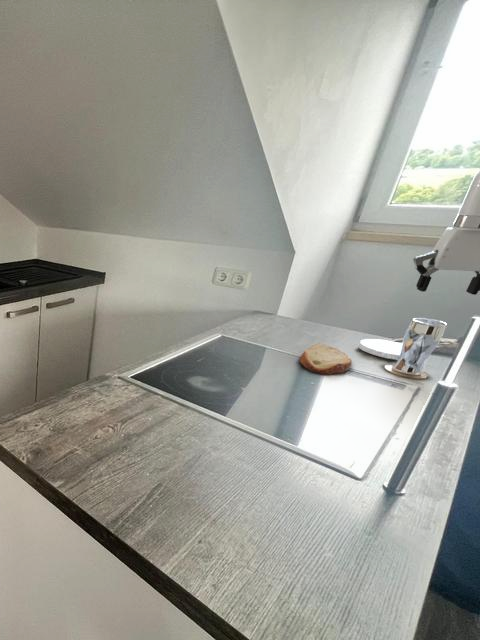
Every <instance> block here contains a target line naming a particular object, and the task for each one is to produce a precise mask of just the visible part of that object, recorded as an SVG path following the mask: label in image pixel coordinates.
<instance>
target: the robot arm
mask: <svg viewBox="0 0 480 640" xmlns="http://www.w3.org/2000/svg"><path fill="white" fill-rule="evenodd" d="M452 224H453V225H452V226H451V227H447V228H446V229H445V231H443V233H442V235H441V236H440V237H439V239H438V241H437V242H436V244H435V246H434V247H433V249H432V251H431V252H428V253H424V254H421V255H418V256H415V257H414V258H413V264H414V269H415V270H416V271H417V272H418V274H419V275H420V276H419V278H418V280H417V283H416V290H418V291H420V292H427V290H428V287H429V284H430V283H431V280H432V276H431V275H433V274H435V273H436V272H437V271H439V270H443V271H459V272H460V271H461V272H473V273H475V275H476V276H473V277H472V278H471V280H470V282H469V284H468V285H467V288H466V291H465V292H467V293H468V294H470V295H473V296H475V295H477V294H478V292H480V169H479V170H478V171H477V172H476V173H475V174H474V176H473V178H472V181H471V182H470V185H469V188H468V190H467V192H466V194H465V197H464V199H463V202H462V204H461V206H460V208H459V210H458V213H457V215H456V218H455V220H454V222H453V223H452ZM425 261H427V263H426V264H427V266H424V262H425Z"/></svg>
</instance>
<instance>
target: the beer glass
mask: <svg viewBox="0 0 480 640" xmlns="http://www.w3.org/2000/svg"><path fill="white" fill-rule="evenodd" d="M411 320H412V321H411V322H410V323H409V325H408V327H407V328H406V330H405V333H404V335H403V338H402V340H401V341H402V342H401V343H402V346H401V352H400V355H399V358H398V360H395V362H394V363H393V364H394V365H393V366H392V369H393V370H395V371H397V372H400V373H403V374H407V375H421V373H422V371H423V367H424V364H425V363H426V361H427V359H428V358H429V357H430V356H431V354H432V353H433V352H434V350H436V348H437V346H438V345H439V344H440V342H441V340H442V338H443V336H444V334H445V331H446V328H447V325H448V324H447V323H446V322H445V321H442V320H438V319H433V318H426V317H413V318H412V319H411Z"/></svg>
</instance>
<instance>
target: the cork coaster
mask: <svg viewBox="0 0 480 640" xmlns="http://www.w3.org/2000/svg"><path fill="white" fill-rule="evenodd" d="M394 364H395V363H392V364H391V363H390V364H385V365H384V367H383V369H384V370H385V371H387V372H388V373H390V374H392V375H395V376H398V377H402V378H407V379H412V380H425V379H427V378H428V377H429V376H428V374H427V372H424V371H423V370H422V373H421V375H407V374H403V373H400V372H397V371H395V370H393V369H392V366H393V365H394Z"/></svg>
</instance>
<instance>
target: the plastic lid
mask: <svg viewBox="0 0 480 640" xmlns="http://www.w3.org/2000/svg"><path fill="white" fill-rule="evenodd" d="M358 343H359V344H358V348H359V349H360V350H361V351H363V352H366V353H367V354H370V355H373V356H377V357H381V358H384V359H390V360H395V361H397V360H398V358H399V355H400V352H401V346H402V342H397V341H393V340H387V339H380V338H364V339H361V340H359V342H358Z"/></svg>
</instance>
